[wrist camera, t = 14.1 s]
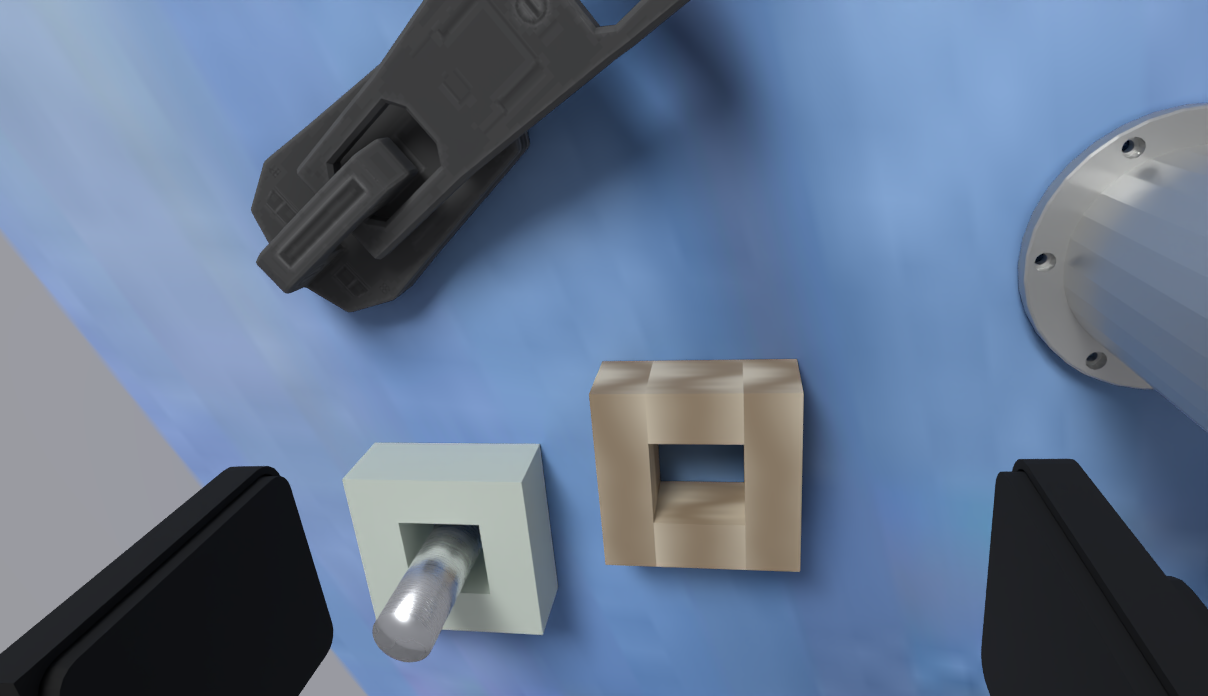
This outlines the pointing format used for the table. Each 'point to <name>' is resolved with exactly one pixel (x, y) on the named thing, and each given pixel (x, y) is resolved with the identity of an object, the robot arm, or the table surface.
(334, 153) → the zipper pull
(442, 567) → the metal pin
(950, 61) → the table surface
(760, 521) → the birch mount block
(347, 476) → the sage socket block
